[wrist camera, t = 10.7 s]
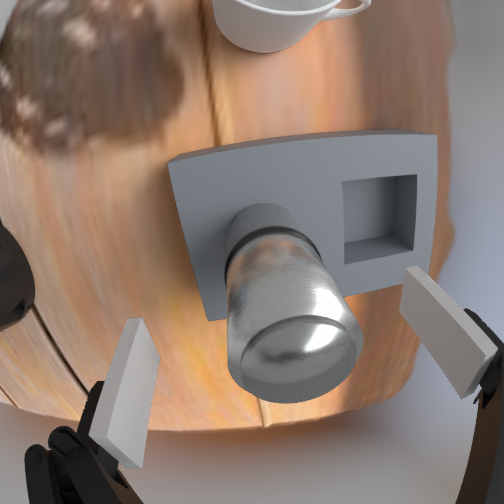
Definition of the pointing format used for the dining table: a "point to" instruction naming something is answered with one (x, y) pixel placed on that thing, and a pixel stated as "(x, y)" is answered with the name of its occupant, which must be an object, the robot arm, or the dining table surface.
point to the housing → (315, 203)
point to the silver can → (284, 311)
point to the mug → (274, 21)
